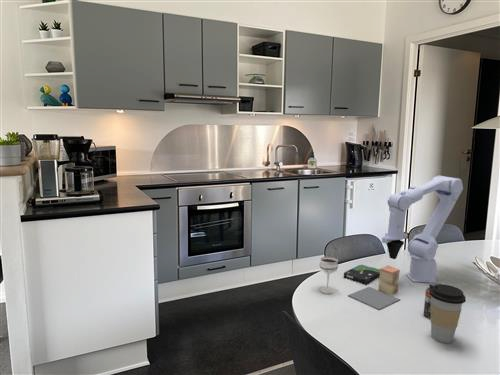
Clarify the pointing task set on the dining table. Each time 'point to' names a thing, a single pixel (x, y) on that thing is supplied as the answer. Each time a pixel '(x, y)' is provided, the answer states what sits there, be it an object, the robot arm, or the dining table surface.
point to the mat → (374, 298)
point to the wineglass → (328, 270)
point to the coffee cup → (445, 311)
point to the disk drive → (362, 274)
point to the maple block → (389, 280)
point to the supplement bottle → (428, 300)
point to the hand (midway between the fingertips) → (392, 258)
